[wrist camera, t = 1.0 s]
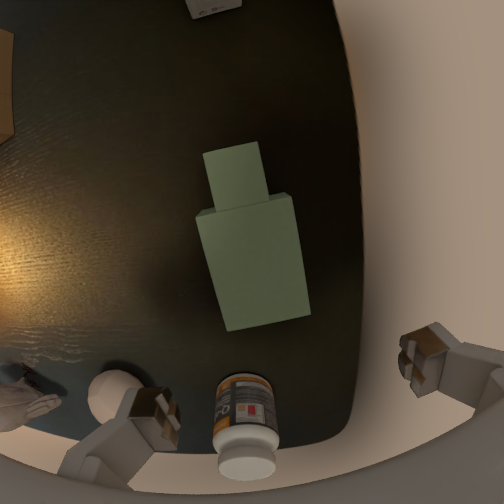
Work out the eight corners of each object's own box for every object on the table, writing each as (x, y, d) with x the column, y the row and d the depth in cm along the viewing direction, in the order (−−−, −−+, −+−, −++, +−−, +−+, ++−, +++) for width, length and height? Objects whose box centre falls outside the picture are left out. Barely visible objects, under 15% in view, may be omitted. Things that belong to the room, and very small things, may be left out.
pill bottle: (216, 369, 26) (208, 452, 17) (275, 371, 27) (287, 452, 17) (217, 406, 28) (212, 482, 19) (269, 408, 28) (278, 483, 19)
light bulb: (107, 448, 24) (137, 440, 19) (66, 410, 24) (80, 389, 19) (135, 414, 30) (171, 393, 25) (96, 379, 30) (122, 347, 25)
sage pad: (189, 159, 21) (181, 159, 18) (274, 140, 20) (279, 137, 18) (228, 312, 24) (227, 331, 22) (303, 297, 24) (310, 314, 21)
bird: (-7, 346, 26) (-63, 408, 11) (63, 377, 27) (9, 465, 12) (3, 372, 27) (-46, 433, 13) (71, 403, 28) (28, 486, 14)
